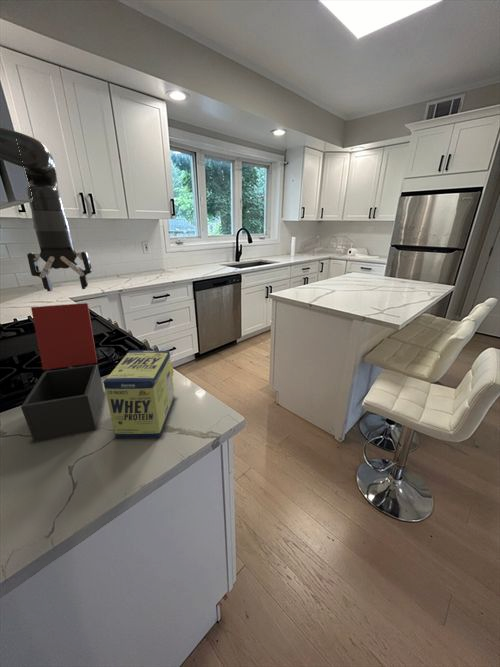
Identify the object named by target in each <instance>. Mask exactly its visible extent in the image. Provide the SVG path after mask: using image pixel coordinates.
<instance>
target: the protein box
mask: <svg viewBox="0 0 500 667" xmlns="http://www.w3.org/2000/svg"><path fill="white" fill-rule="evenodd" d="M171 365H172V362H171V352H170V350H129V351H128V352H127V353H126V355H124V357H123V358H121V360H120V362H119V363H118V364H117V365H116V366H115V368H114V369H113V370H112V371H111V372H110V374H108V375H107V377H106V378H105V379H104V380H103V381H102V384H103V388H104V391H105V395H106V400H107V404H108V409H109V413H110V417H111V423H112V427H113V432H114V435H115V439H160V438H161V437H162V435H163V431H164V428H165V426H166V424H167V421H168V419H169V416H170V413H171V410H172V408H173V405H174V403H175V400H176V398H175V389H174V381H173V376H172V371H171Z"/></svg>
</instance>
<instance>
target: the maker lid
mask: <svg viewBox="0 0 500 667" xmlns="http://www.w3.org/2000/svg"><path fill="white" fill-rule="evenodd" d="M30 308H31V315H32V319H33V325H34V330H35V335H36V341H37V346H38V351H39V357H40V362H41V366H42V371H50V370H57V369H64V368H72V367H79V366H87V365H94V364H98V358H97V351H96V345H95V339H94V333H93V332H94V331H93V326H92V320H91V314H90V308H89V303H88V302H82V303H71V304H70V303H69V304H57V305H55V304H54V305H44V306H43V305H42V306H31V307H30Z"/></svg>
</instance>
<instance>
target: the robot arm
mask: <svg viewBox="0 0 500 667" xmlns="http://www.w3.org/2000/svg"><path fill="white" fill-rule="evenodd" d="M16 139H17V141H16ZM17 143H18V145H17ZM18 147H19V148H18ZM19 150H20V152H19ZM20 154H21V155H20ZM0 160H1V161H5V162H8V163H10V164H13V165H14V166H15V165H16V166H18V167H21V168H25V171H26V175H27V178H28V182H29V185H28V186H27V185H26V188H25V189H26V196H27V195H28V197H27V201H28V200H30V199H31V198H32V197H33V201H32V202H29V201H28V204H29V207H30V210H31V211H30V213H31V218H32V223H33V224H32V226H33V229H34V231H35V234H36V238H37V241H38V246H39V249H40V251H39V252H33V251H31V252H29V253H27V254H26V257H27V261H28V265H29V266H28V267H29V270H30V274H31V276H33V277H38V278H39V279H40V280H41V283H42V285H43V288H44V290H46V291H47V292H52V291H53V285H52V282H51V277H50V276H49V274H50V273H51V271H52V270H53V269H54V270H58V269H59V270H60V269H69V268H70V269H71V270H72V271H74V272H75V273H77V275H79V277H78V278H79V282H80V286H81V289H82V290H85V289H87V287H88V286H89V283H88V282H89V281H88V279H87V275H89V274H92V272H93V267H92V264H91V261H90V257H89V253H88V251H86V250H84V251H77V252H76V251H75V249H74V245H73V241H72V235H71V231H70V227H69V223H68V219H67V216H66V214H65V211H64V210H65V209H64V205H63V200H62V197H61V194H60V190H59V185H58V177H57V176H58V174H57V170H56V163H55V160H54V157H53V155H52V153H51V151H50V150H49V149H48V148H47V147H46V146H45V144H43V143H42V142H41V141H40V140H39V139H36V138H34V137H33V136H29V135H28V134H25V133H22V132H19V131H16V130H12V129H9V128H5V127H3V126H0ZM22 161H23V162H22ZM23 166H24V167H23ZM29 186H30V187H29ZM30 189H31V190H30ZM31 192H32V196H31ZM77 258H79V260H81V261H82V263H83V266H84V269H83V268H82V267H81V266H80V265H79V264H78V263H77V262H76V259H77ZM40 259H41V260H43V261H44V262H45V264H44V266H43V268H42V270H41V271H40V267H39V261H40Z"/></svg>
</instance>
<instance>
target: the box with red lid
mask: <svg viewBox="0 0 500 667" xmlns="http://www.w3.org/2000/svg"><path fill="white" fill-rule="evenodd" d="M104 391H105V390H104V385H103V381H102V378H101V373H100V369H99V365H98V363H95V364H88V365H80V366H73V367H66V368H59V369H51V370H44V371H43V372H42V374H41V376H40V377H39V378H38V380H37V381H36V383H35V384H34V386H33V388H32V389H31V391H30V392H29V393H28V395H27V396H26V399H25V400H24V402H23V403H22V404H21V406H20V408H21V411H22V414H23V417H24V419H25V422H26V425H27V427H28V430H29V432H30V435H31V437H32V441H33V442H34V443H37V442H41V441H46V440H51V439H57V438H61V437H66V436H70V435H75V434H81V433H86V432H90V431H91V432H92V431H96V430H97V427H98V423H99V420H100V414H101V409H102V406H103V402H104V397H105V392H104Z"/></svg>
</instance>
